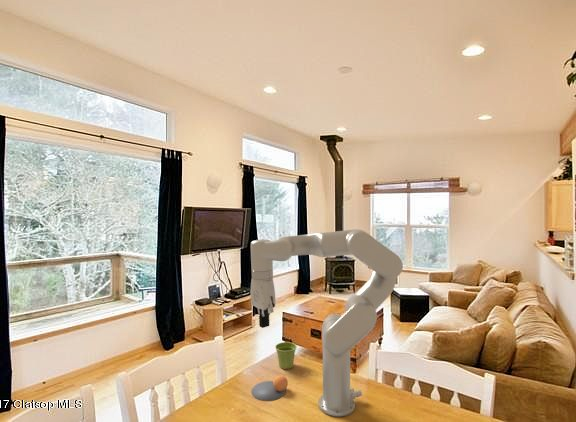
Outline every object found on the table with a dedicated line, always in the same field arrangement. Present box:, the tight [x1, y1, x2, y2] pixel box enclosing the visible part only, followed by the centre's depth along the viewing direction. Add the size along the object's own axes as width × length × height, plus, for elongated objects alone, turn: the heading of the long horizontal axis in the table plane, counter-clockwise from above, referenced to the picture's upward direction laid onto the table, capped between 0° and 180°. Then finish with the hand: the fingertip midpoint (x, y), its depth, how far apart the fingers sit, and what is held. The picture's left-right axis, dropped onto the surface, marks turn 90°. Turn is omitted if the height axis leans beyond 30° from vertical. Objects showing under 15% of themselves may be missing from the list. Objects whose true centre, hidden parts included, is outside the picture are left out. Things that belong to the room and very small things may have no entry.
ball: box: [273, 374, 289, 392], centre depth 127 cm, size 6×6×6 cm
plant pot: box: [274, 341, 297, 370], centre depth 146 cm, size 9×9×9 cm
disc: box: [251, 380, 287, 402], centre depth 127 cm, size 13×13×1 cm
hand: (264, 326), depth 118 cm, fingers closed
